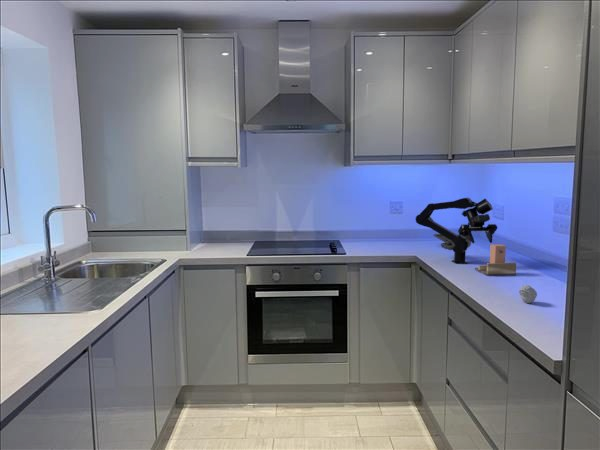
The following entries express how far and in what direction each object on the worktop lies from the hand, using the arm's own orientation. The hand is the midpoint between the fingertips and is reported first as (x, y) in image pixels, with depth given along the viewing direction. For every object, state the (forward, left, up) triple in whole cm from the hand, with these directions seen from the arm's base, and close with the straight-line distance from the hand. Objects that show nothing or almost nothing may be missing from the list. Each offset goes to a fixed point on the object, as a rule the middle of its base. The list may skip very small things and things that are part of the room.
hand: (482, 242), depth 229 cm
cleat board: (+8, +3, -14) cm, 16 cm away
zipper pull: (-64, +9, -14) cm, 66 cm away
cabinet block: (+10, +3, -13) cm, 16 cm away
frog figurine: (+57, -10, -14) cm, 59 cm away
